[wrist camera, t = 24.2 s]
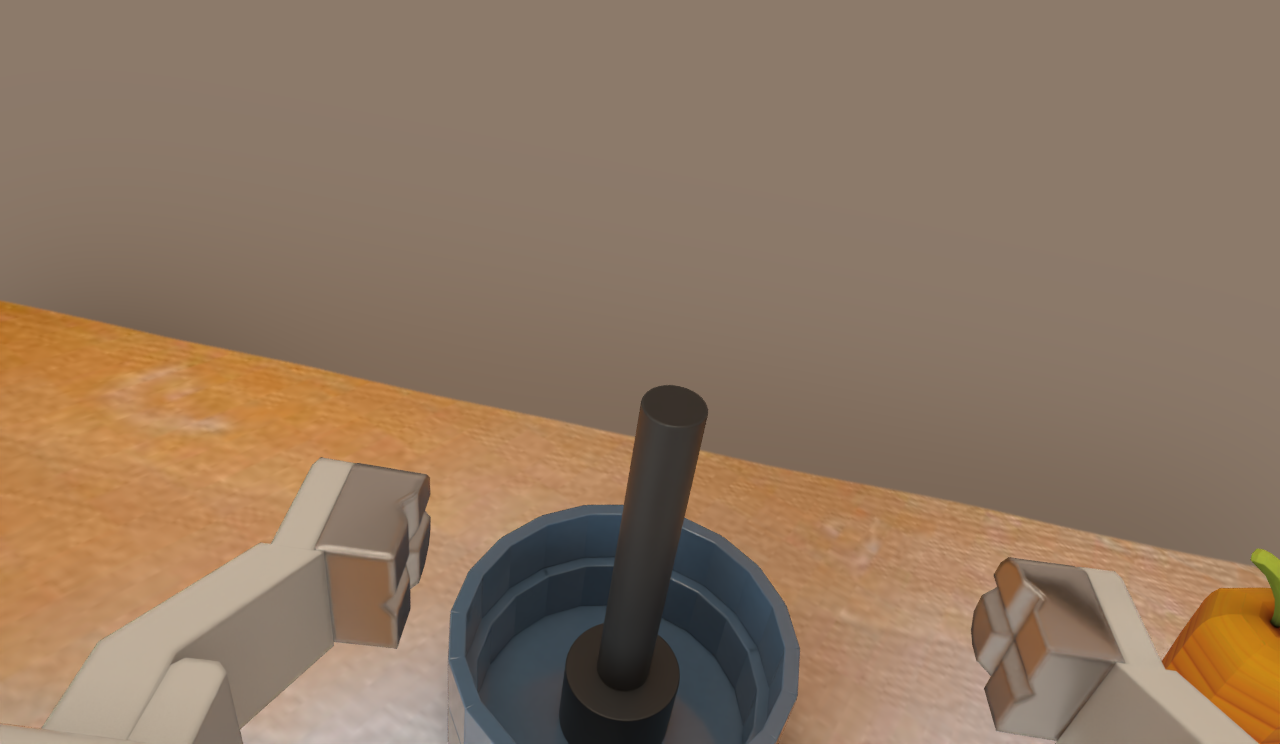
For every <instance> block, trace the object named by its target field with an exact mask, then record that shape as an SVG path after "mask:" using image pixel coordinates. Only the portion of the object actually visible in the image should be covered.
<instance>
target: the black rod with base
mask: <svg viewBox="0 0 1280 744" xmlns="http://www.w3.org/2000/svg"><path fill="white" fill-rule="evenodd" d="M707 416H708V408H707V405H706V403H705V401H704V400H703V399H702V397H700V396H699V395H698V394H697V393H695V392H693V391H691V390H689V389H687V388H684V387H680V386H674V385H664V386H658V387H655V388H653V389H651V390H649V391H648V392H647V393H646V394H645V395H644V396H643V398H642V401H641V406H640V412H639V419H638V424H637V430H636V436H635V442H634V448H633V454H632V460H631V466H630V472H629V478H628V484H627V490H626V496H625V502H624V507H623V513H622V519H621V525H620V531H619V537H618V543H617V549H616V555H615V561H614V567H613V573H612V579H611V585H610V591H609V597H608V603H607V609H606V615H605V620H604V623H602V624H599V625H596V626H594V627H592V628H590V629H588V630H587V631H585V632H584V633H582V634H581V635H580V636H579V637H578V638H577V639H576V640H575V641H574V643H573V644H572V646H571V647H570V650H569V652H568V654H567V658H566V664H565V671H564V679H563V686H562V694H561V701H560V709H559V720H560V726H561V729H562V732H563V734H564V736H565V738H566V740H567V741H568V743H569V744H661V743H662V742H663V740H664V738H665V735H666V732H667V728H668V724H669V721H670V717H671V713H672V709H673V705H674V702H675V698H676V694H677V690H678V687H679V681H680V670H679V665H678V661H677V658H676V656H675V654H674V652H673V650H672V649H671V647H670V646H669V645H668V643H667V642H666V641H665V640H664V639H663V638H662V637H661V636H659V635H658V631H659V627H660V622H661V618H662V614H663V609H664V605H665V601H666V596H667V592H668V587H669V583H670V579H671V574H672V570H673V565H674V561H675V557H676V552H677V548H678V543H679V539H680V535H681V530H682V526H683V521H684V517H685V513H686V508H687V504H688V499H689V495H690V491H691V486H692V482H693V477H694V473H695V469H696V464H697V460H698V455H699V451H700V447H701V442H702V437H703V433H704V428H705V425H706V420H707Z"/></svg>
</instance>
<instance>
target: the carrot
mask: <svg viewBox="0 0 1280 744" xmlns="http://www.w3.org/2000/svg"><path fill="white" fill-rule="evenodd" d="M1251 561H1252V562H1253V563H1254V564H1255V565H1256V566H1257V567H1258V568H1259V569H1260V570H1261V571H1262V572H1263V573H1264V574H1265V575H1266V577H1267V580H1268V582H1269V584H1270V586H1271V588H1219V589H1218V590H1216V591H1214V592H1212V593H1211V594H1210V595H1209V596H1208V597H1207V598H1206V599H1205V600H1204V601H1203V602H1202V604H1201V605H1200V607H1199V608H1198V609H1197V611H1196V612H1195V613H1194V615H1193V616H1192V618H1191V619H1190V620H1189V622H1188V623H1187V625H1186V626H1185V627H1184V629H1183V630H1182V631H1181V633H1180V634H1179V636H1178V637H1177V639H1176V640H1175V642H1174V644H1173V645H1172V647H1171V648H1170V650H1169V651H1168V653H1167V654H1166V656H1165V657H1164V659H1163V660H1162V663H1163V665H1164V667H1165V669H1166V670H1172V671H1177V672H1178V673H1179V674H1180V675H1181V676H1182V677H1183V678H1185V679H1186V680H1187V681H1188V682H1189V683H1190V684H1191V685H1193V686H1194V687H1195V688H1196V689H1197V690H1198V691H1199V692H1201V693H1202V694H1203V695H1204V696H1205V697H1206V698H1207V699H1209V700H1210V701H1211V702H1212V703H1213V704H1214V705H1215V706H1217V707H1218V708H1219V709H1220V710H1221V711H1222V712H1223V713H1225V714H1226V715H1227V716H1228V717H1229V718H1230V719H1231V720H1233V721H1234V722H1235V723H1236V724H1237V725H1238V726H1239V727H1241V728H1242V729H1243V730H1244V731H1245V732H1246V733H1247V734H1249V735H1250V736H1251V737H1252V738H1253V739H1254V740H1255V741H1257V742H1258V743H1259V744H1280V560H1279V559H1278V558H1277V557H1275V556H1274V555H1273V554H1271V553H1270V552H1267V551H1265V550H1263V549H1256V550H1255V551H1254V552H1253V553H1252V556H1251Z"/></svg>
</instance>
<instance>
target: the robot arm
mask: <svg viewBox="0 0 1280 744" xmlns="http://www.w3.org/2000/svg"><path fill="white" fill-rule="evenodd" d="M429 497H430V477H429V476H428V475H427V474H421V473H415V472H409V471H403V470H397V469H391V468H385V467H379V466H373V465H367V464H361V463H351V462H345V461H339V460H333V459H327V458H319V459H318V460H317V461H316V462H315V463H314V464H313V465H312V467H311V468H310V470H309V472H308V474H307V476H306V478H305V480H304V482H303V484H302V486H301V488H300V489H299V491H298V493H297V495H296V497H295V499H294V501H293V503H292V505H291V507H290V508H289V510H288V512H287V514H286V516H285V518H284V520H283V522H282V524H281V526H280V527H279V529H278V531H277V533H276V535H275V537H274V539H273V541H272V543H271V544H267V543H259V544H257V545H255V546H254V547H252V548H250V549H249V550H247V551H246V552H244V553H242V554H241V555H239V556H237V557H236V558H234V559H233V560H231V561H229V562H228V563H226V564H224V565H223V566H221V567H219V568H218V569H216V570H215V571H213V572H211V573H210V574H208V575H206V576H205V577H203V578H202V579H200V580H198V581H197V582H195V583H193V584H192V585H190V586H188V587H187V588H185V589H184V590H182V591H180V592H179V593H177V594H175V595H174V596H172V597H171V598H169V599H167V600H166V601H164V602H162V603H161V604H159V605H157V606H156V607H154V608H153V609H151V610H149V611H148V612H146V613H144V614H143V615H141V616H140V617H138V618H136V619H135V620H133V621H131V622H130V623H128V624H126V625H125V626H123V627H122V628H120V629H118V630H117V631H115V632H113V633H112V634H110V635H108V636H107V637H105V638H104V639H102V640H100V641H99V642H98V643H97V644H96V646H95V647H94V649H93V650H92V652H91V653H90V655H89V656H88V658H87V660H86V661H85V663H84V664H83V666H82V667H81V669H80V670H79V672H78V673H77V675H76V676H75V678H74V679H73V681H72V682H71V684H70V685H69V687H68V688H67V690H66V691H65V693H64V695H63V696H62V698H61V699H60V701H59V702H58V704H57V705H56V707H55V708H54V710H53V711H52V713H51V714H50V716H49V717H48V719H47V720H46V722H45V723H44V725H43V726H42V728H41V729H40V728H32V727H25V726H17V725H10V724H2V723H0V744H243V741H242V737H241V733H240V729H241V728H242V727H243V726H244V725H245V724H247V723H248V722H249V721H250V720H251V719H252V718H253V717H254V716H255V715H257V714H258V713H259V712H260V711H261V710H262V709H263V708H264V707H266V706H267V705H268V704H269V703H270V702H271V701H272V700H273V699H275V698H276V697H277V696H278V695H279V694H280V693H281V692H282V691H284V690H285V689H286V688H287V687H288V686H289V685H290V684H291V683H292V682H294V681H295V680H296V679H297V678H298V677H299V676H300V675H301V674H303V673H304V672H305V671H306V670H307V669H308V668H309V667H310V666H312V665H313V664H314V663H315V662H316V661H317V660H318V659H319V658H320V657H322V656H323V655H324V654H325V653H326V652H327V651H328V650H329V649H331V648H332V647H333V646H334V642H341V643H350V644H359V645H368V646H377V647H386V648H395V649H397V647H398V644H399V641H400V638H401V635H402V632H403V629H404V626H405V623H406V620H407V617H408V614H409V611H410V589H411V588H412V587H414V586H415V585H416V584H418V583H419V581H420V578H421V575H422V572H423V568H424V565H425V560H426V556H427V551H428V546H429V538H430V516H429V515H428V514H427V512H426V511H425V508H426V506H427V503H428V500H429ZM994 578H995V581H996V584H997V587H996V588H995V589H993V590H991V591H989V592H987V593H985V594H984V595H982V596H981V598H980V600H979V602H978V604H977V606H976V608H975V610H974V615H973V621H972V628H971V634H972V645H973V649H974V653H975V657H976V661H977V662H978V663H979V664H980V665H981V666H982V667H983V668H984V669H985V670H986V671H987V672H988V673H989V674H990V675H991V677H990V679H989V681H988V682H987V684H986V686H985V688H984V690H985V693H986V697H987V700H988V704H989V707H990V711H991V714H992V718H993V721H994V725H995V728H996V731H999V732H1005V733H1011V734H1017V735H1024V736H1030V737H1036V738H1042V739H1048V740H1054V741H1057V742H1056V743H1055V744H1259V743H1258V742H1257V741H1255V740H1254V739H1253V738H1252V737H1251V736H1250V735H1249V734H1247V733H1246V732H1245V731H1244V730H1243V729H1242V728H1241V727H1239V726H1238V725H1237V724H1236V723H1235V722H1234V721H1233V720H1231V719H1230V718H1229V717H1228V716H1227V715H1226V714H1225V713H1223V712H1222V711H1221V710H1220V709H1219V708H1218V707H1217V706H1215V705H1214V704H1213V703H1212V702H1211V701H1210V700H1209V699H1207V698H1206V697H1205V696H1204V695H1203V694H1202V693H1201V692H1199V691H1198V690H1197V689H1196V688H1195V687H1194V686H1193V685H1191V684H1190V683H1189V682H1188V681H1187V680H1186V679H1185V678H1183V677H1182V676H1181V675H1180V674H1179V673H1178V672H1177V671H1172V670H1166V669H1165V667H1164V665H1163V663H1162V661H1161V659H1160V657H1159V655H1158V653H1157V650H1156V648H1155V646H1154V644H1153V642H1152V640H1151V638H1150V636H1149V634H1148V632H1147V629H1146V627H1145V625H1144V623H1143V621H1142V619H1141V617H1140V615H1139V613H1138V611H1137V608H1136V606H1135V604H1134V602H1133V600H1132V598H1131V596H1130V594H1129V592H1128V590H1127V588H1126V585H1125V583H1124V581H1123V579H1122V578H1121V577H1120V576H1119V575H1118V574H1117V573H1116V572H1115V571H1107V570H1100V569H1092V568H1085V567H1075V566H1070V565H1062V564H1055V563H1047V562H1040V561H1032V560H1025V559H1017V558H1009V557H1008V558H1007V559H1005V560H1004V561H1003V562H1001V563H1000V565H999V566H998V568H997V570H996V571H995V573H994Z"/></svg>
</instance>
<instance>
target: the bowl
mask: <svg viewBox="0 0 1280 744" xmlns="http://www.w3.org/2000/svg"><path fill="white" fill-rule="evenodd" d="M623 507H624V505H583V506H579V507H575V508H571V509H566V510H562V511H558V512H554V513H550V514H546V515H542V516H541V517H538V518H536V519H534V520H532V521H531V522H529V523H527V524H525V525H523V526H521V527H520V528H518V529H516V530H514V531H512V532H511V533H509V534H507V535H505V536H503V537H502V538H501V539H499V540H498V541H497V542H496V543H495V544H494V545H493V546H492V547H491V549H490V550H489V551H488V552H487V553H486V554H485V555H484V556H483V557H482V558H481V559H480V560H479V561H478V562H477V563H476V564H475V565H474V566H473V567H472V568H471V569H470V571H469V572H468V574H467V576H466V578H465V581H464V583H463V585H462V587H461V590H460V592H459V594H458V596H457V598H456V601H455V603H454V605H453V607H452V610H451V614H450V628H449V650H448V744H569V743H568V741H567V740H566V738H565V736H564V734H563V732H562V729H561V726H560V720H559V709H560V701H561V694H562V686H563V679H564V671H565V664H566V658H567V654H568V652H569V650H570V647H571V646H572V644H573V643H574V641H575V640H576V639H577V638H578V637H579V636H580V635H581V634H582V633H584V632H585V631H587V630H588V629H590V628H592V627H594V626H596V625H599V624H602V623H604V620H605V615H606V609H607V603H608V597H609V591H610V585H611V579H612V573H613V567H614V561H615V555H616V549H617V543H618V537H619V531H620V525H621V519H622V513H623ZM658 635H659V636H661V637H662V638H663V639H664V640H665V641H666V642H667V643H668V645H669V646H670V647H671V649H672V650H673V652H674V654H675V656H676V658H677V661H678V665H679V670H680V681H679V687H678V690H677V694H676V698H675V702H674V705H673V709H672V713H671V717H670V721H669V724H668V728H667V732H666V735H665V738H664V740H663V742H662V743H661V744H779V742H780V739H781V737H782V734H783V732H784V729H785V727H786V724H787V722H788V719H789V717H790V714H791V712H792V709H793V707H794V704H795V702H796V700H797V696H798V681H799V661H800V647H799V644H798V641H797V638H796V635H795V631H794V628H793V625H792V622H791V619H790V615H789V612H788V609H787V606H786V605H785V603H784V601H783V600H782V598H781V597H780V595H779V594H778V593H777V591H776V590H775V588H774V587H773V585H772V584H771V583H770V581H769V580H768V578H767V577H766V575H765V574H764V573H763V571H762V570H761V568H760V567H759V566H758V565H757V564H756V563H754V562H753V561H752V560H751V559H750V558H748V557H747V556H746V555H745V554H744V553H742V552H741V551H740V550H739V549H737V548H736V547H735V546H734V545H733V544H731V543H730V542H729V541H728V540H727V539H725V538H724V537H722V536H721V535H719V534H717V533H715V532H713V531H711V530H709V529H707V528H705V527H703V526H700V525H698V524H696V523H694V522H692V521H690V520H688V519H686V518H684V521H683V526H682V530H681V535H680V539H679V543H678V548H677V552H676V557H675V561H674V565H673V570H672V574H671V579H670V583H669V587H668V592H667V596H666V601H665V605H664V609H663V614H662V618H661V622H660V627H659V631H658Z"/></svg>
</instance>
